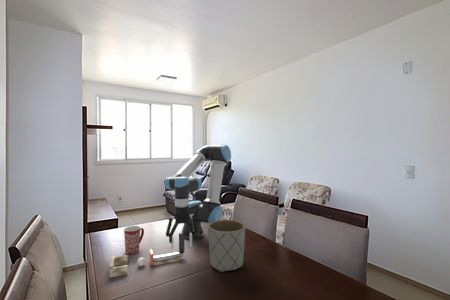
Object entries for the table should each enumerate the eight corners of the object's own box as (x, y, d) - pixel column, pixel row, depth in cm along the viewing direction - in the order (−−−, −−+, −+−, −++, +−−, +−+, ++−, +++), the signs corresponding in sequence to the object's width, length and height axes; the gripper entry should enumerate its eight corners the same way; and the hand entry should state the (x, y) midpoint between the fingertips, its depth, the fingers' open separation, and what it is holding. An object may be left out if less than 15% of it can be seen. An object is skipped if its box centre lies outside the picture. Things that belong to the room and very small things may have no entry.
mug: (130, 256, 126) (131, 232, 126) (120, 253, 131) (120, 229, 131) (148, 248, 137) (148, 225, 137) (138, 245, 142) (138, 223, 142)
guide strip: (178, 256, 126) (179, 251, 126) (180, 260, 122) (180, 254, 122) (152, 261, 121) (152, 255, 121) (153, 265, 117) (153, 259, 117)
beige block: (127, 262, 119) (127, 253, 119) (127, 274, 108) (127, 263, 108) (111, 265, 116) (111, 255, 116) (109, 277, 105) (109, 266, 105)
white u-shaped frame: (183, 254, 128) (183, 231, 128) (185, 259, 122) (185, 235, 122) (149, 260, 121) (149, 236, 121) (150, 266, 115) (150, 240, 115)
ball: (145, 263, 119) (145, 255, 119) (145, 266, 115) (145, 258, 115) (137, 264, 117) (137, 256, 117) (137, 268, 114) (137, 260, 114)
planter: (218, 278, 106) (218, 234, 106) (202, 260, 122) (202, 222, 122) (252, 268, 114) (252, 228, 114) (233, 252, 131) (233, 217, 131)
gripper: (199, 202, 132) (199, 241, 132) (159, 205, 124) (159, 247, 124) (203, 205, 125) (203, 246, 125) (161, 209, 117) (161, 253, 117)
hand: (181, 247), depth 124 cm, fingers open, 9 cm apart
